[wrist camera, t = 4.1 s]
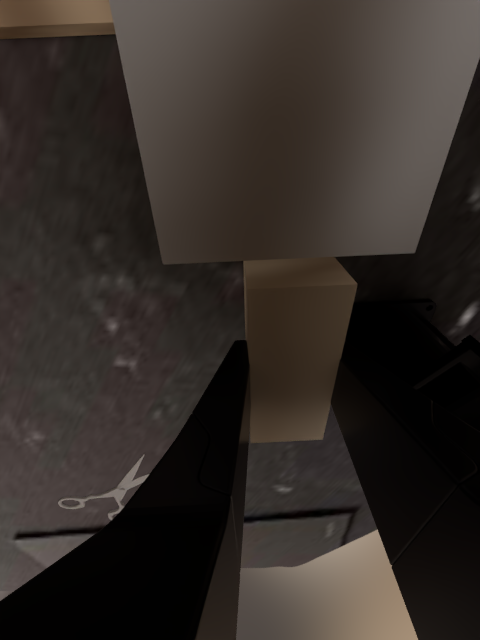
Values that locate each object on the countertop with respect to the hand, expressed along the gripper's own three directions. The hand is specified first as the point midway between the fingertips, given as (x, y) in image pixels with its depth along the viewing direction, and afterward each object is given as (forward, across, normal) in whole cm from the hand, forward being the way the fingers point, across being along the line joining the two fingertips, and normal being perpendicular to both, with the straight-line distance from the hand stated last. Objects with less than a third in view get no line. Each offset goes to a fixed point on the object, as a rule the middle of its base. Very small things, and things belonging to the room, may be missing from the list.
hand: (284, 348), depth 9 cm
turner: (+1, 0, -3) cm, 3 cm away
